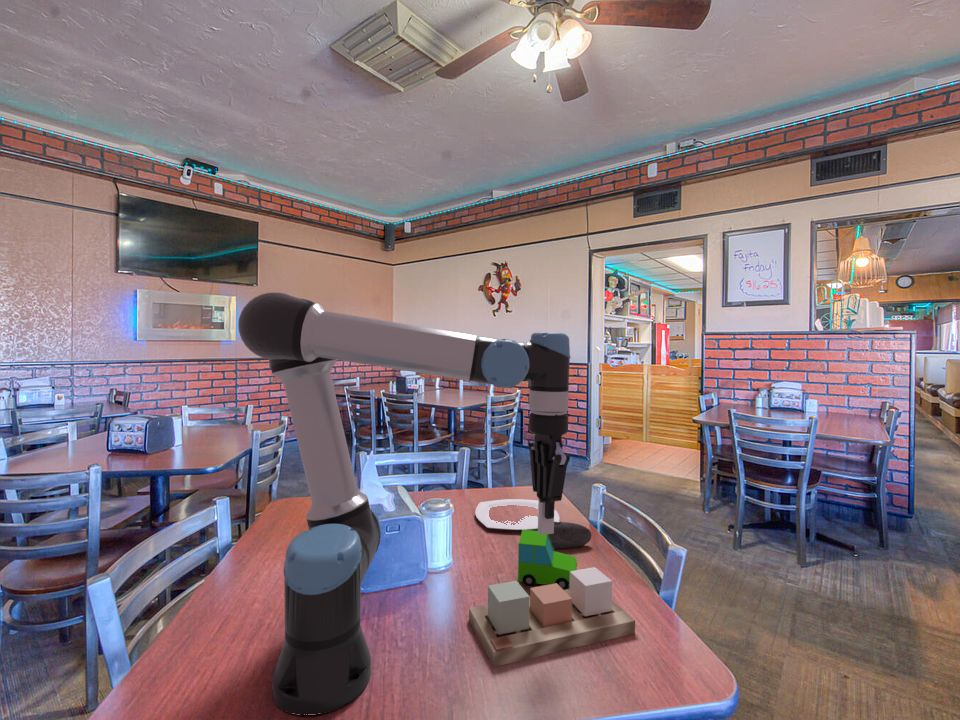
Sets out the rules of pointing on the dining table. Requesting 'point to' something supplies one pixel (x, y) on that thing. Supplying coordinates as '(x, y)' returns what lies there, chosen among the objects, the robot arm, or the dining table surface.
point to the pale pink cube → (590, 591)
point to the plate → (525, 524)
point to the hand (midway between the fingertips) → (545, 532)
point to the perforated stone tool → (569, 535)
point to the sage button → (508, 607)
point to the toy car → (543, 561)
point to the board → (548, 634)
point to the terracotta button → (550, 605)
